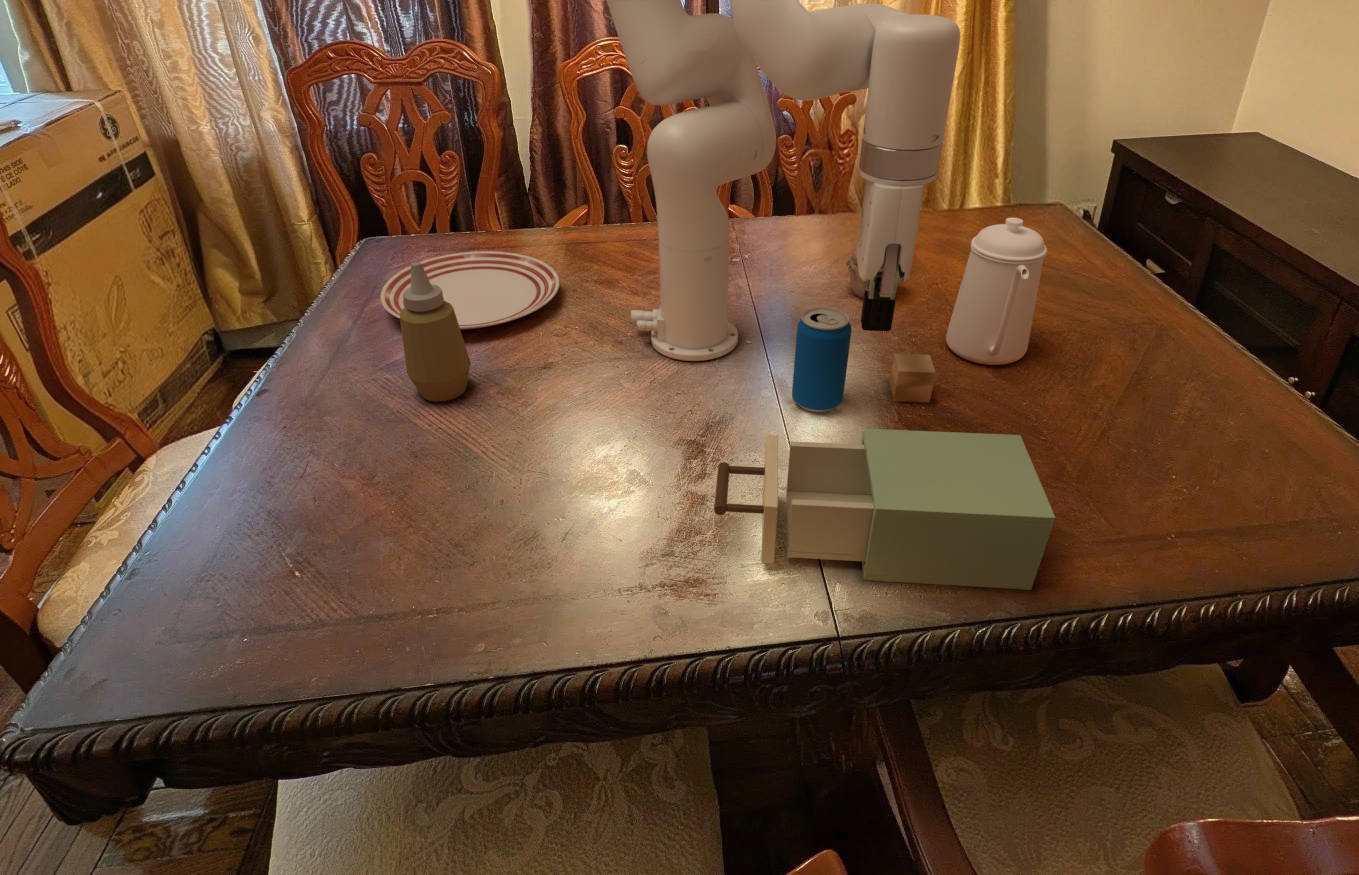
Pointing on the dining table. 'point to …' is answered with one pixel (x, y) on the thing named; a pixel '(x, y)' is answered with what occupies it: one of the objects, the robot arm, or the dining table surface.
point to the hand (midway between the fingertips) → (875, 327)
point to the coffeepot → (997, 294)
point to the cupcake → (856, 276)
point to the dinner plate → (481, 286)
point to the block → (912, 378)
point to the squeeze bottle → (432, 340)
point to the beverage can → (821, 359)
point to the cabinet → (954, 509)
